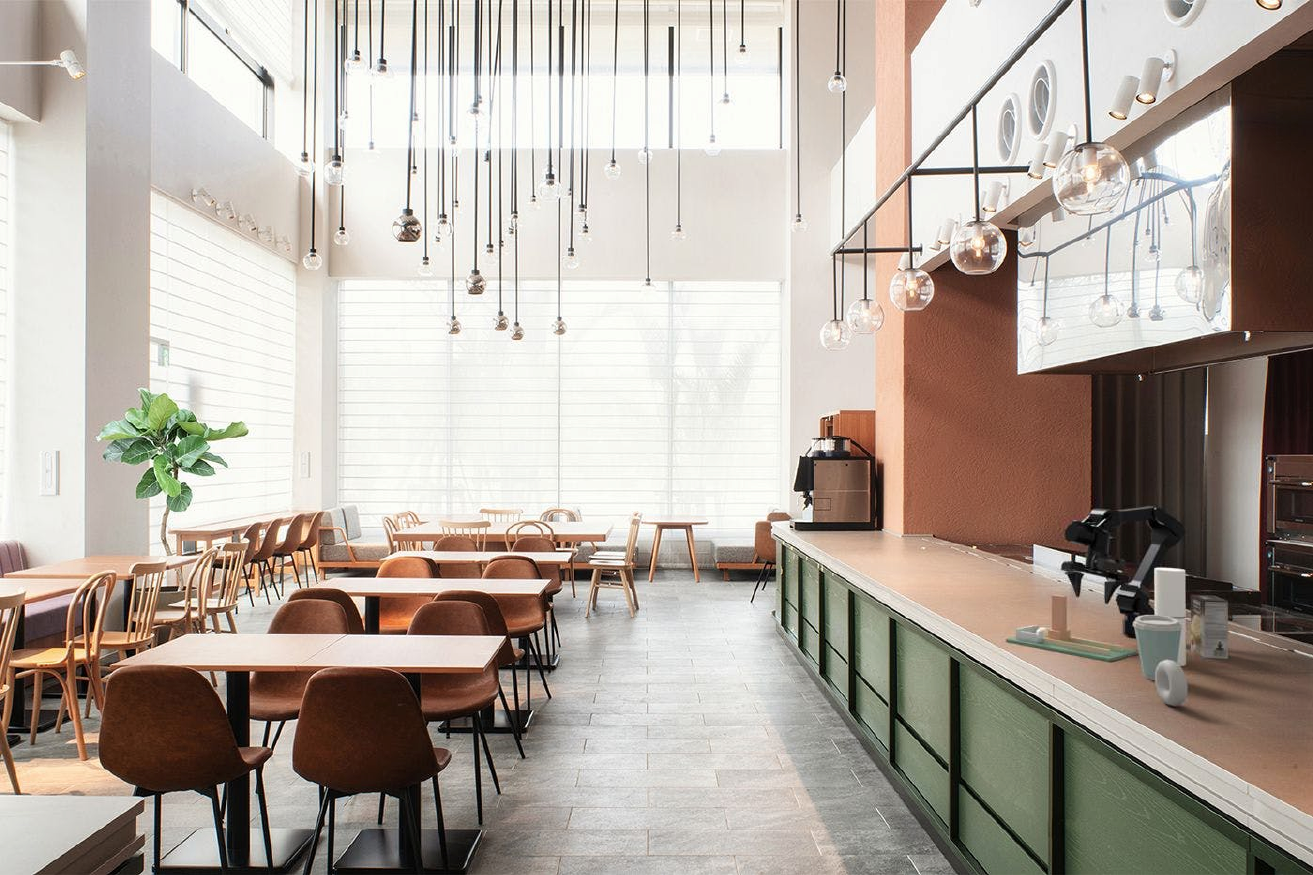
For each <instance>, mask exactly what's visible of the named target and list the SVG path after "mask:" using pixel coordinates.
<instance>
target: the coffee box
mask: <svg viewBox="0 0 1313 875" xmlns="http://www.w3.org/2000/svg"><path fill="white" fill-rule="evenodd" d="M1228 618H1229V601H1228V600H1226V599H1224V598H1221V597H1218V596H1217V595H1207V594H1205V595H1202V594H1190V650H1191V651H1192V652H1193V653H1195V654H1197V655H1198V656H1201V657H1202V658H1204V659H1221V660H1222V659H1223V660H1228V659H1229V649H1228V648H1229V638H1228V637H1229V636H1228V635H1229V634H1228V633H1229V631H1228V630H1229V629H1228V628H1229V620H1228Z"/></svg>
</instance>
